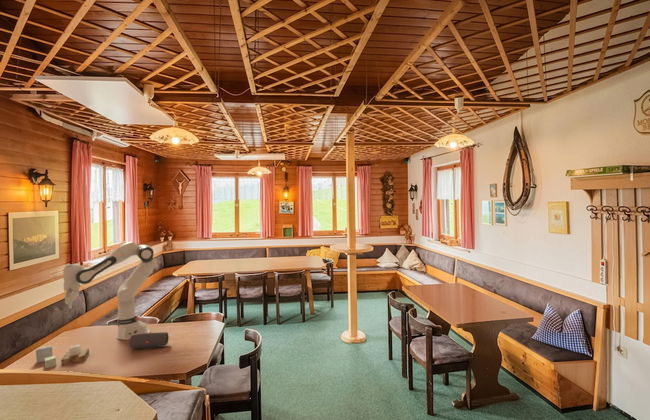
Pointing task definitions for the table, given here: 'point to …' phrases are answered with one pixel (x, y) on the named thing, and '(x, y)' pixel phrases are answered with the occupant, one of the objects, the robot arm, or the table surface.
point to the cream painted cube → (74, 350)
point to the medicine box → (43, 353)
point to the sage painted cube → (50, 361)
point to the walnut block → (75, 357)
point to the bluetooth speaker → (149, 340)
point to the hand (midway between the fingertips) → (72, 306)
